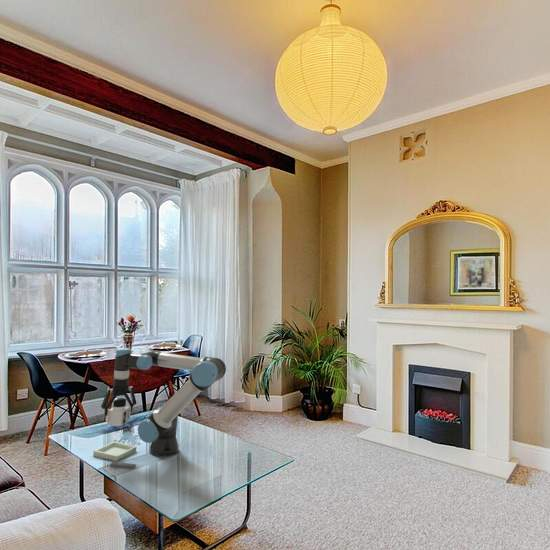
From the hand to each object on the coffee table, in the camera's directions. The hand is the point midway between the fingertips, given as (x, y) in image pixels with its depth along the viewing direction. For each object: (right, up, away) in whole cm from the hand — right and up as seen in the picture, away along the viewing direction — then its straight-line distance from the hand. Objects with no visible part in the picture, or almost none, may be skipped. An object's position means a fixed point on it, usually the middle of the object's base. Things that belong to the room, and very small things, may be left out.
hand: (117, 419), depth 216 cm
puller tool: (+8, -18, -16) cm, 25 cm away
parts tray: (-1, -17, -1) cm, 17 cm away
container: (0, -2, 0) cm, 2 cm away
